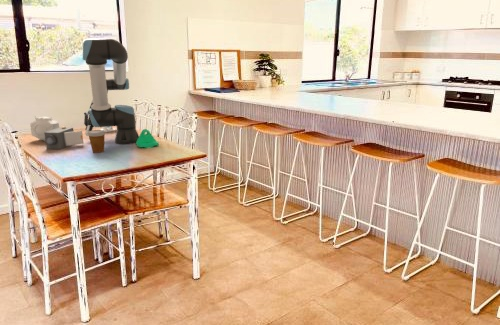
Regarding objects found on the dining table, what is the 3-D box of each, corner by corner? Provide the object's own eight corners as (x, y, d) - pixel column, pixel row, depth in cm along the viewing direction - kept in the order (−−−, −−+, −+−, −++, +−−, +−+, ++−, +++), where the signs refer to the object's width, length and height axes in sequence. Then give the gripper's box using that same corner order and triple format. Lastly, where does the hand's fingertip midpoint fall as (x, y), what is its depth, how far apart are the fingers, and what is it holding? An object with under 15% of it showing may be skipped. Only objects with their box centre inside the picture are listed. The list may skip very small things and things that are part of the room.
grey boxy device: (57, 150, 240) (55, 132, 237) (43, 149, 241) (41, 132, 238) (75, 143, 258) (72, 126, 255) (61, 142, 259) (59, 126, 256)
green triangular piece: (139, 149, 243) (138, 132, 240) (136, 146, 250) (135, 130, 247) (159, 146, 249) (158, 130, 246) (155, 144, 255) (154, 128, 253)
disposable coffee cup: (110, 150, 239) (108, 130, 235) (97, 154, 231) (95, 133, 227) (99, 148, 243) (97, 129, 240) (86, 152, 235) (83, 131, 232)
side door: (65, 145, 247) (63, 132, 244) (65, 145, 247) (63, 132, 245) (83, 143, 253) (82, 130, 251) (83, 143, 253) (81, 130, 251)
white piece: (108, 132, 291) (106, 111, 287) (95, 131, 295) (93, 110, 290) (118, 129, 302) (116, 109, 298) (105, 128, 306) (103, 108, 301)
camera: (41, 138, 272) (37, 114, 268) (64, 139, 268) (61, 115, 264) (28, 141, 262) (25, 117, 258) (52, 143, 258) (49, 118, 254)
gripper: (108, 108, 273) (99, 138, 262) (90, 108, 275) (80, 137, 264) (103, 101, 267) (94, 131, 255) (85, 101, 269) (74, 131, 257)
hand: (86, 134), depth 260 cm, fingers closed
